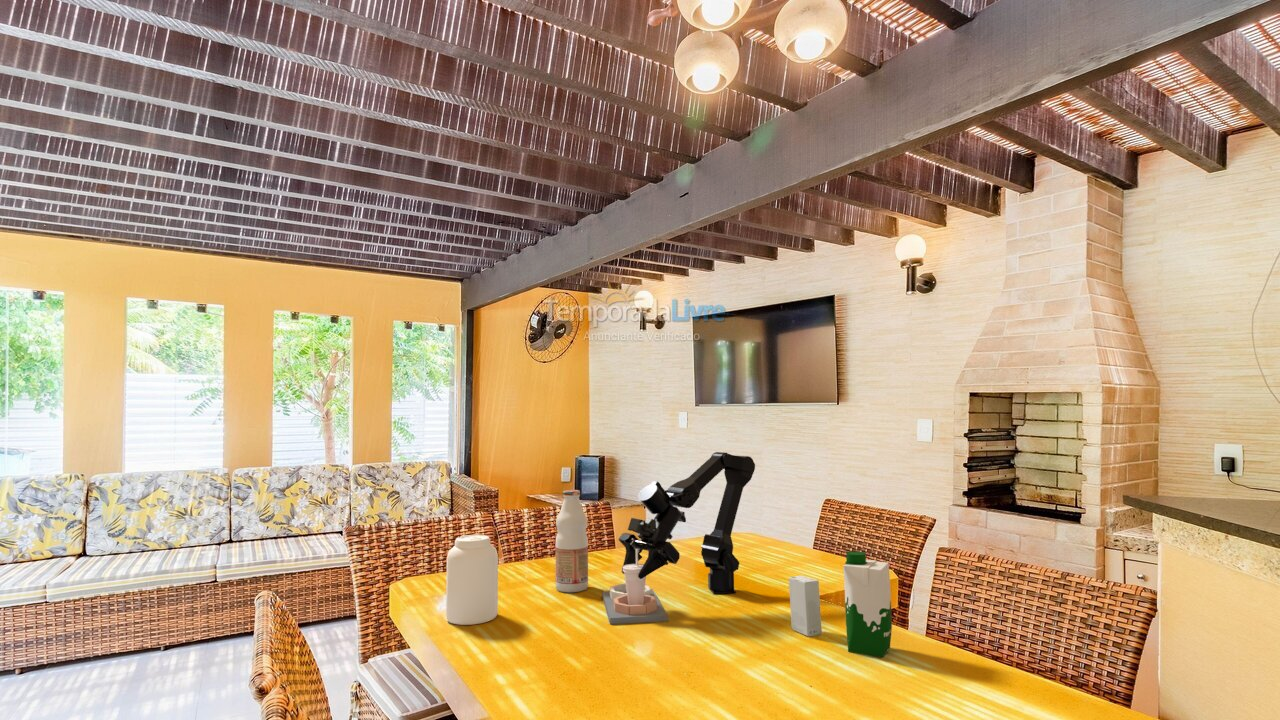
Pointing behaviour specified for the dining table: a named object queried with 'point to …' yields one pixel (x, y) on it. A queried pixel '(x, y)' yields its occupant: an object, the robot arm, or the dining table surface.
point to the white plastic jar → (472, 581)
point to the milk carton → (867, 605)
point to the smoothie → (634, 583)
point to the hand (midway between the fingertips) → (631, 575)
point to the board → (632, 607)
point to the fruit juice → (571, 545)
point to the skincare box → (805, 605)
